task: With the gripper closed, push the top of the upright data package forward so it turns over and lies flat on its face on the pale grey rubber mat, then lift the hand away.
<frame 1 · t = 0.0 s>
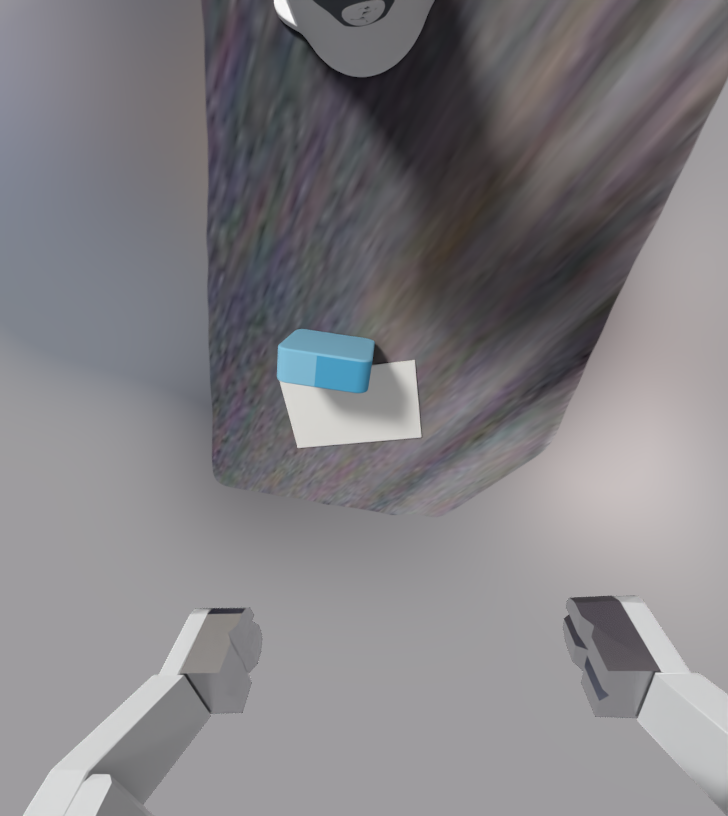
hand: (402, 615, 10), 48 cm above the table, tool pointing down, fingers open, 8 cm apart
mat: (352, 406, 61), on the table
data package: (335, 347, 57), on the table, touching mat
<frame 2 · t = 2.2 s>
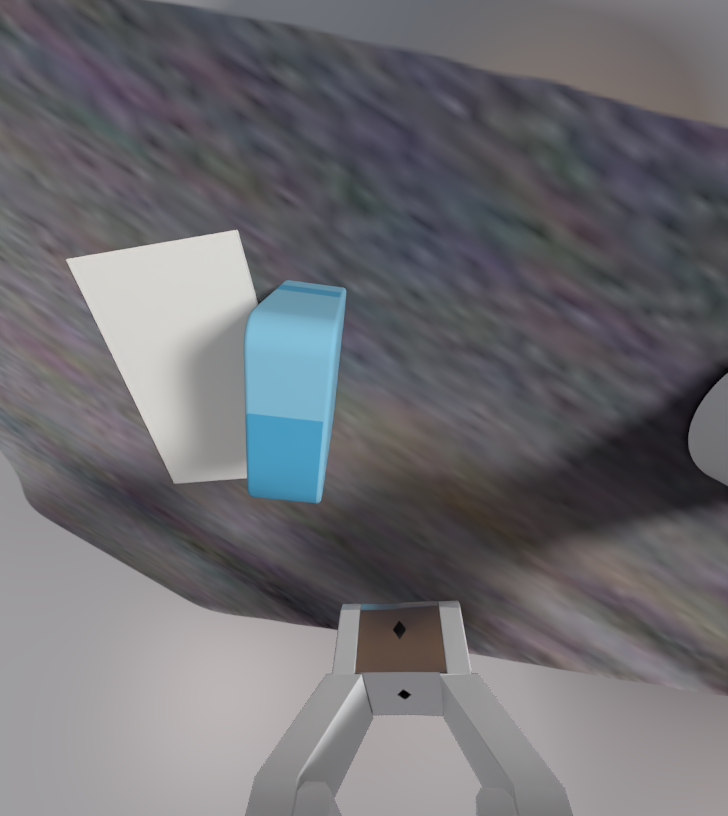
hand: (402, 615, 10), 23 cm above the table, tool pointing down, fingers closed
mat: (201, 378, 32), on the table
data package: (313, 353, 31), on the table, touching mat
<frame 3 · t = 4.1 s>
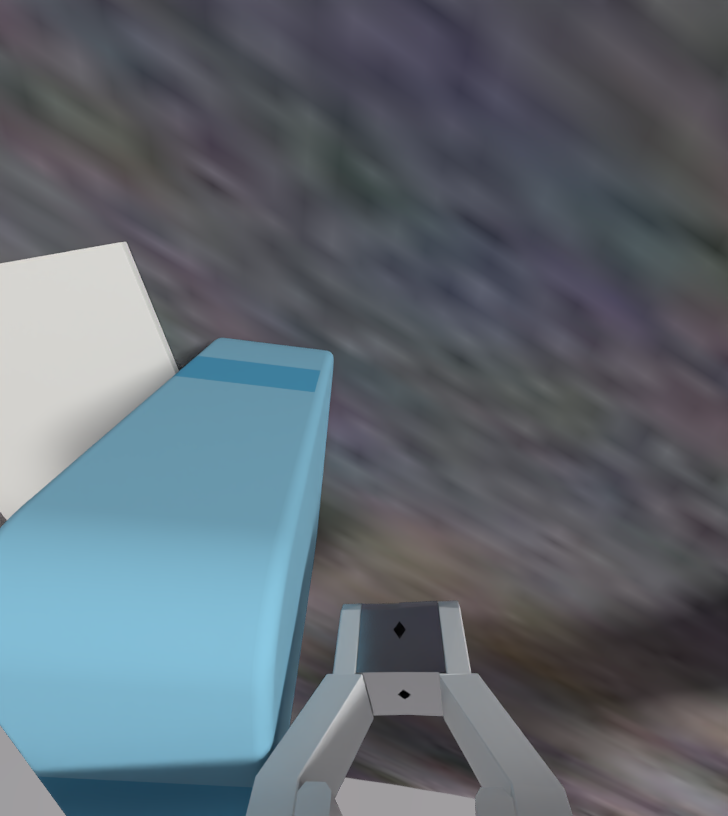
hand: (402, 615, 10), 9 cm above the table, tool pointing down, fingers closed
mat: (100, 481, 20), on the table
data package: (279, 449, 18), on the table, touching gripper, mat
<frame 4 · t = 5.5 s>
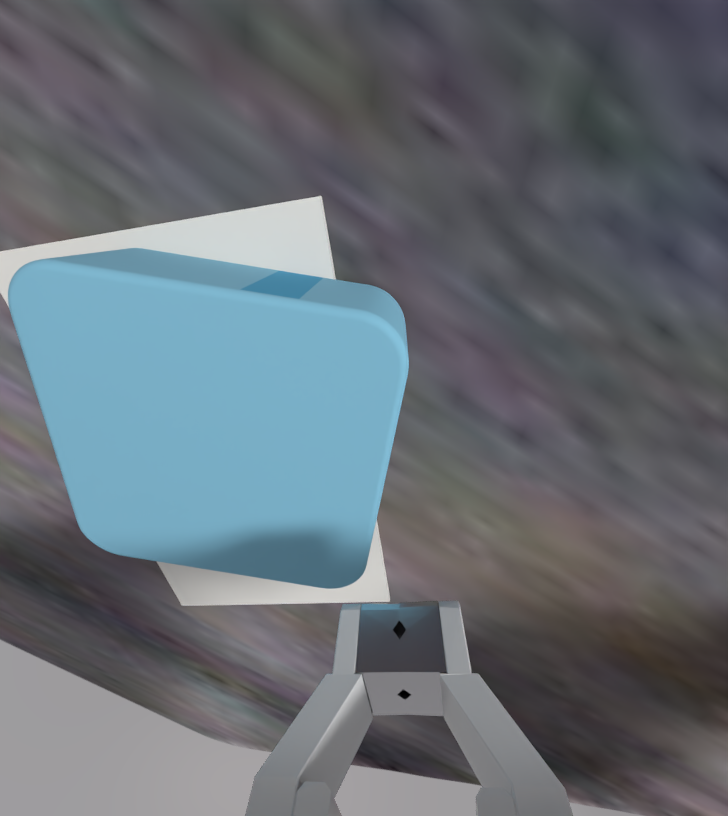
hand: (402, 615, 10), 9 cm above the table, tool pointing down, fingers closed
mat: (231, 462, 19), on the table
data package: (390, 453, 15), point 3 cm above the table, touching mat
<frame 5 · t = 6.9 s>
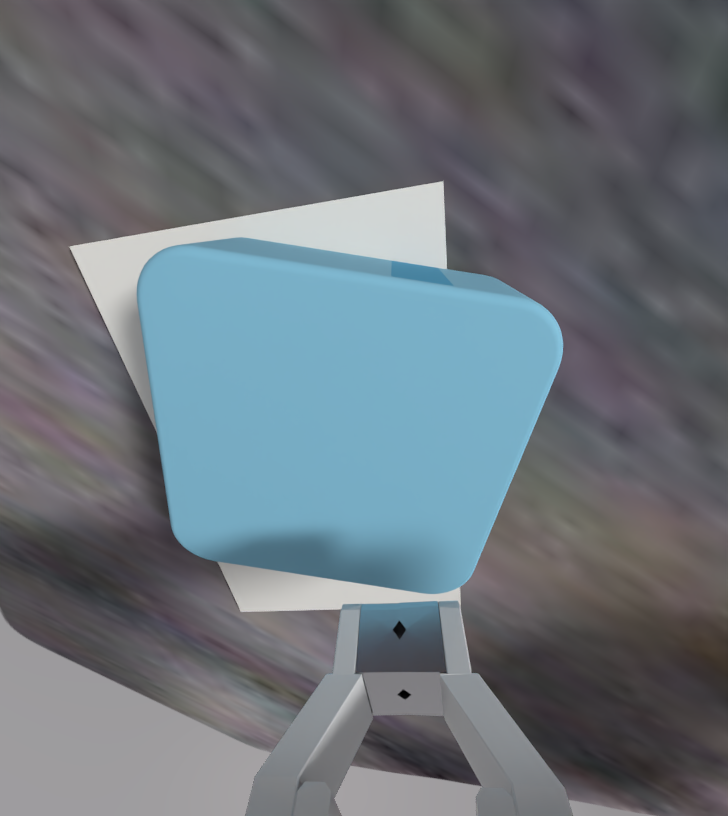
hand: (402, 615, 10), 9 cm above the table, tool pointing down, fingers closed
mat: (310, 463, 18), on the table
data package: (499, 452, 14), point 3 cm above the table, touching mat
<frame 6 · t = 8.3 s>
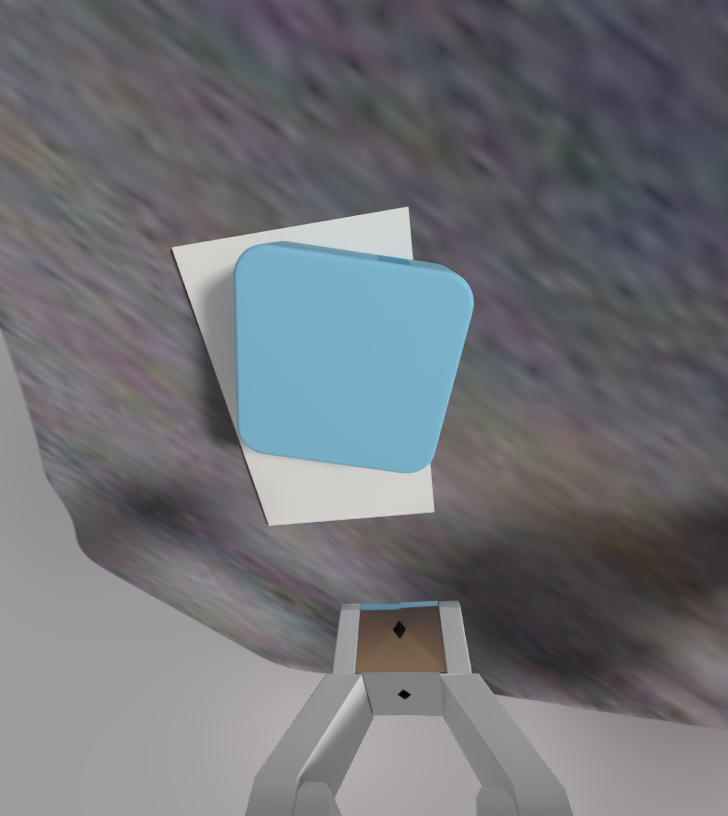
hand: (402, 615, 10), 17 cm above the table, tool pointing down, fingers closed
mat: (324, 398, 26), on the table
data package: (449, 376, 22), point 3 cm above the table, touching mat
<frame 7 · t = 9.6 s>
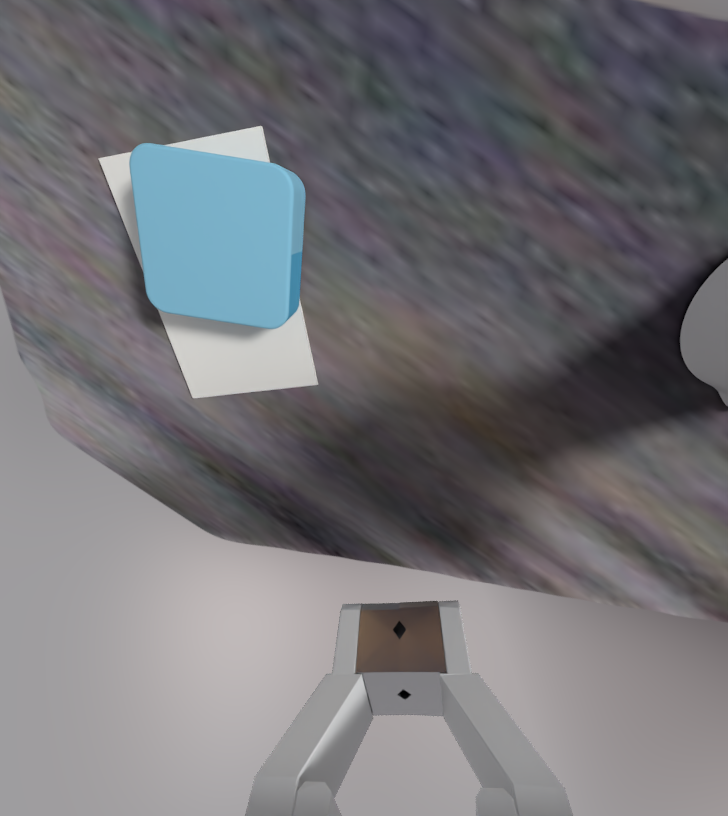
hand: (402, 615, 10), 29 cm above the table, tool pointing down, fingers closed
mat: (222, 284, 34), on the table
data package: (299, 255, 30), point 3 cm above the table, touching mat
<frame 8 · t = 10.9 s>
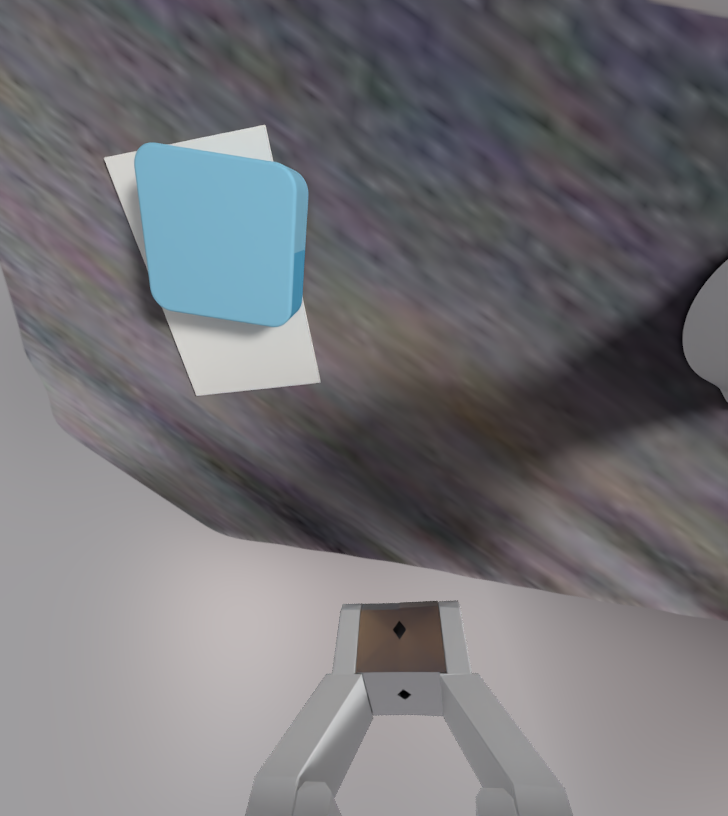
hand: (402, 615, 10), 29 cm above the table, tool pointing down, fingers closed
mat: (225, 283, 35), on the table
data package: (302, 254, 30), point 3 cm above the table, touching mat
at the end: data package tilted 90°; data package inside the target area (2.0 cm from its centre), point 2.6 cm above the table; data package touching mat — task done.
